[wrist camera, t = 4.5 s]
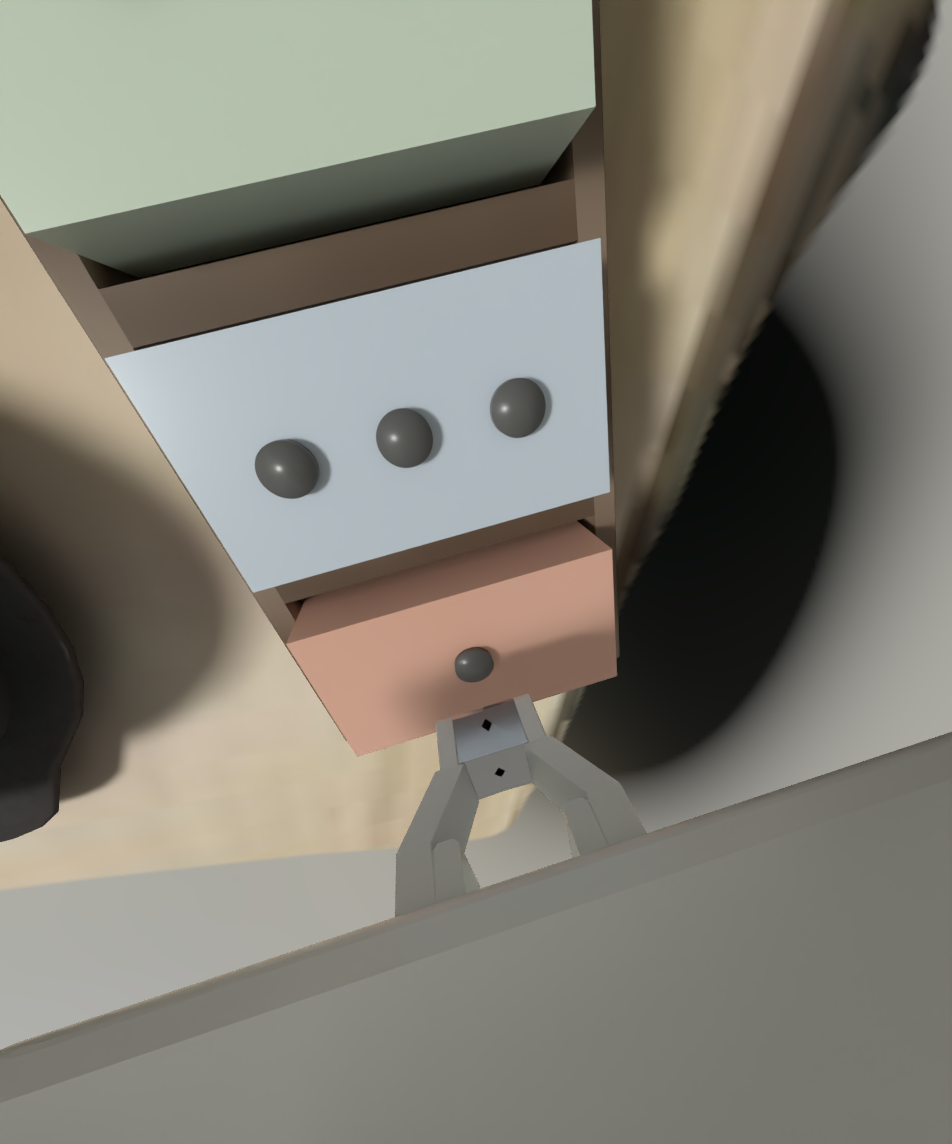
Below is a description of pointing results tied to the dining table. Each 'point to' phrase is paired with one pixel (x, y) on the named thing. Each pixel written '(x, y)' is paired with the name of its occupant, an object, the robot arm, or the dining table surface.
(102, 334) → the wooden counting block tray
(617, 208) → the dining table surface
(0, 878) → the dining table surface
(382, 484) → the counting block
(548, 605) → the counting block
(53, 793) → the casserole
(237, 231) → the counting block
